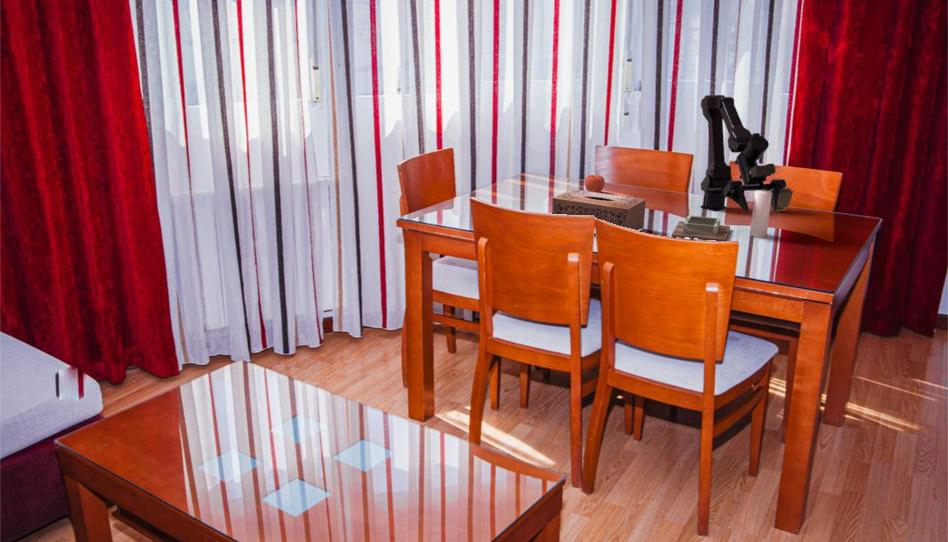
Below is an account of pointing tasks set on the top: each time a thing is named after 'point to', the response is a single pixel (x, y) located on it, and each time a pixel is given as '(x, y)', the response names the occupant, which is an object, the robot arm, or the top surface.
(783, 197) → the cup
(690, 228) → the collar seat
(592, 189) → the apple
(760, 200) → the cream post
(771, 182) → the robot arm
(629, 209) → the tissue box cover
